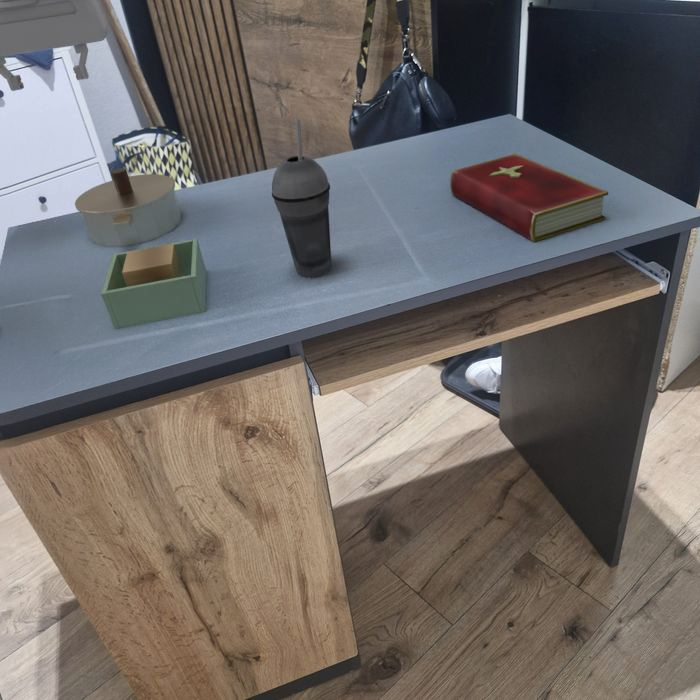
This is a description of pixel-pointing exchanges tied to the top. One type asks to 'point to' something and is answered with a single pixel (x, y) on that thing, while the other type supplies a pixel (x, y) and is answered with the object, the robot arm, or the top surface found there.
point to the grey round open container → (134, 223)
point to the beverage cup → (304, 211)
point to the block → (151, 265)
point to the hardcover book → (528, 196)
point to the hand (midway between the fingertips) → (50, 84)
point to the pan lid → (124, 193)
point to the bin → (157, 290)
